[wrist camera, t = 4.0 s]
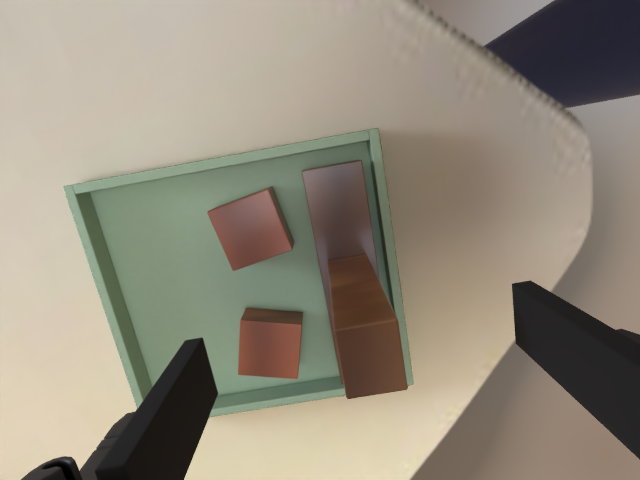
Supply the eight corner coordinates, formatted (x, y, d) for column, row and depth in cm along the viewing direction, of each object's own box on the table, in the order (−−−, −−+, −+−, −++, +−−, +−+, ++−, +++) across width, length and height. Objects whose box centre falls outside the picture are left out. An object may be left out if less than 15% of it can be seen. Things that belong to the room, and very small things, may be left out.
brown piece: (357, 159, 23) (393, 164, 12) (387, 355, 27) (437, 503, 15) (303, 169, 24) (289, 183, 12) (339, 363, 27) (354, 515, 15)
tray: (373, 129, 23) (378, 127, 22) (407, 368, 27) (414, 384, 25) (82, 183, 24) (62, 186, 22) (155, 409, 28) (143, 428, 26)
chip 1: (272, 185, 24) (268, 188, 22) (294, 242, 25) (292, 250, 23) (215, 207, 24) (206, 211, 22) (239, 262, 25) (232, 271, 23)
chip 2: (303, 311, 26) (302, 324, 24) (299, 363, 27) (297, 379, 25) (245, 307, 26) (239, 320, 24) (243, 359, 27) (237, 375, 25)
